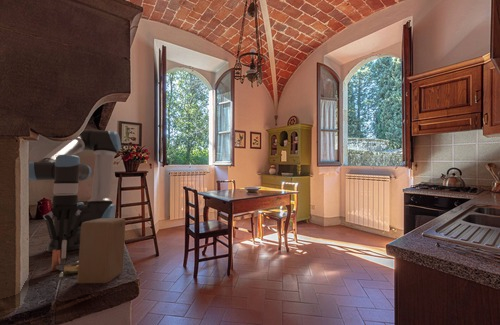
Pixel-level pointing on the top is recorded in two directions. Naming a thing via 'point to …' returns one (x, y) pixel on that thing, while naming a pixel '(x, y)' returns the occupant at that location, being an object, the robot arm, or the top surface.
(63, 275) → the level base
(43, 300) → the top surface
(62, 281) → the top surface
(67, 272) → the crank handle
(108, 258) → the wooden block
